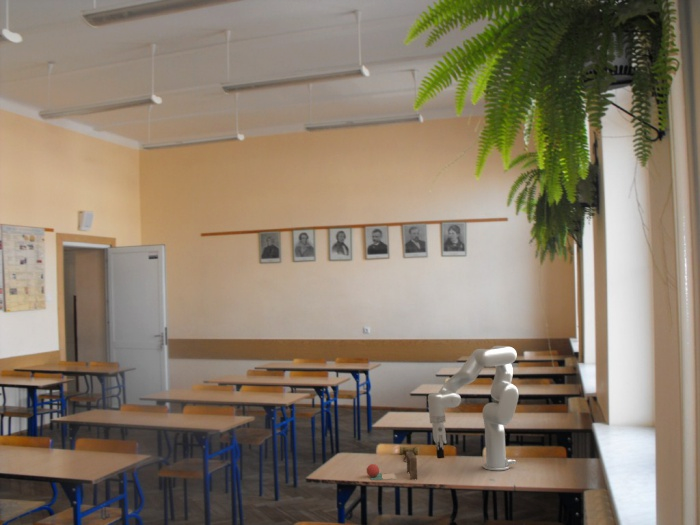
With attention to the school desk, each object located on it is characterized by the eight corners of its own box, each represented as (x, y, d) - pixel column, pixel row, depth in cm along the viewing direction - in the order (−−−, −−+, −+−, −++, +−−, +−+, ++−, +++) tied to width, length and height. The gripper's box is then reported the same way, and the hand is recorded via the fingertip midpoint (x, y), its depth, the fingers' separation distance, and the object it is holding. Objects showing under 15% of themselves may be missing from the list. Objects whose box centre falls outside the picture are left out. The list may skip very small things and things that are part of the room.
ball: (369, 477, 315) (380, 472, 315) (369, 480, 309) (381, 475, 309) (364, 465, 315) (375, 460, 316) (365, 468, 309) (376, 463, 310)
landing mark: (394, 473, 318) (394, 472, 318) (396, 479, 306) (396, 478, 307) (369, 473, 318) (369, 473, 318) (371, 480, 306) (371, 479, 306)
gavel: (415, 456, 340) (396, 456, 342) (415, 465, 340) (396, 465, 341) (418, 445, 360) (400, 445, 362) (418, 454, 360) (400, 453, 362)
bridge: (413, 471, 320) (412, 451, 321) (417, 479, 305) (416, 458, 306) (407, 471, 320) (406, 451, 321) (410, 479, 305) (410, 458, 306)
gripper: (448, 421, 308) (451, 460, 307) (442, 415, 323) (445, 453, 322) (432, 422, 308) (435, 462, 307) (427, 417, 323) (430, 454, 321)
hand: (440, 457), depth 314 cm, fingers closed
